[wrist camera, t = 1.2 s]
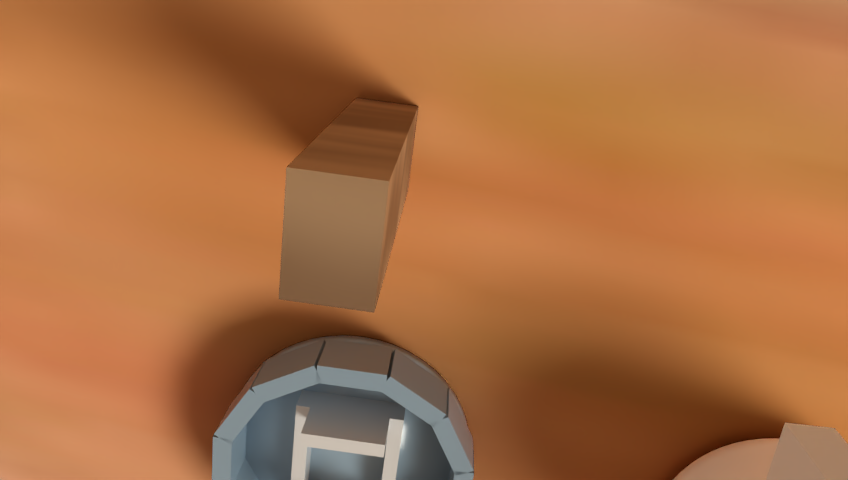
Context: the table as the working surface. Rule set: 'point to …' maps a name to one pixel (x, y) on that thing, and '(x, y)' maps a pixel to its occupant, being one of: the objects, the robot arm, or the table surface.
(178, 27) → the table surface
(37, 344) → the table surface
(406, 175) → the wooden rectangular block
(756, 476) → the cup
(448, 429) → the blue bowl
